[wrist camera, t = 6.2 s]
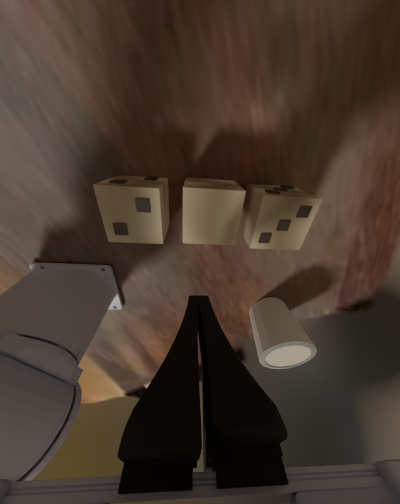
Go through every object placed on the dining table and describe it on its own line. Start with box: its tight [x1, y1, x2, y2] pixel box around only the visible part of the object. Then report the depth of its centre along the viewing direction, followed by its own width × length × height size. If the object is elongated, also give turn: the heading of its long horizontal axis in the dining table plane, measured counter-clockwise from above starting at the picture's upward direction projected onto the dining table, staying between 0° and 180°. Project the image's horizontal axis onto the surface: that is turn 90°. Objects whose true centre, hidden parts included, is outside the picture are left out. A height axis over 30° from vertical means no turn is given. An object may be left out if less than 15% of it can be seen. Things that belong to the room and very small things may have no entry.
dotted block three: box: [239, 184, 323, 250], centre depth 15 cm, size 4×5×5 cm
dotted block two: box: [93, 175, 170, 244], centre depth 14 cm, size 4×5×5 cm
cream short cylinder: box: [249, 297, 317, 369], centre depth 23 cm, size 7×7×7 cm
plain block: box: [183, 177, 246, 245], centre depth 15 cm, size 4×4×4 cm
